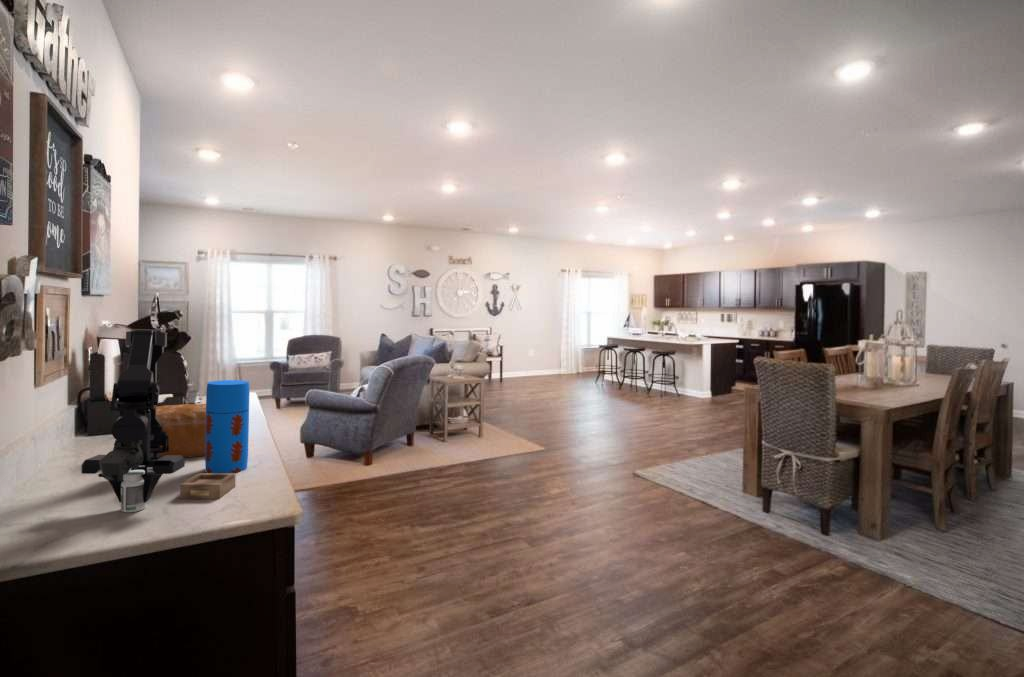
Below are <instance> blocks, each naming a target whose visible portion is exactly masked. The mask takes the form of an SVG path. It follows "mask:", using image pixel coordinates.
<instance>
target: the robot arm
mask: <svg viewBox="0 0 1024 677" xmlns="http://www.w3.org/2000/svg"><path fill="white" fill-rule="evenodd" d="M167 337H168V334H167V332H164V331H162V329H149V328H148V329H144V328H143V329H141V328H134V329H132V330H130V331H126V332H125V347H126V348H129V355H128V363H127V368H126V369H124V370H123V371H121V372H120V373H119V375H118V378H117V381H116V382H114V383H113V386H112V387H113V388H112V395H111V396H112V397H111V404H110V412H118V418H117V419H116V420H115V422H114V423H113V425H112V427H111V435H112V437H113V439H115V440H114V442H113V448H112V450H110V451H109V452H107V454H97V455H94V456H92V457H90V458H87V459H85V460H84V461H83V462H81V465H80V466H81V467H80V473H81V474H84V475H85V474H90V475H91V474H97V473H98V472H100V473H98V474H97V476H98V477H99V478H103V479H104V480H107V482H109V484H110V485H111V487H112V489H113V492H114V494H115V496H116V498H117V499H118V502H119V503H121V483H122V482H123V481H124V480H123V475H125V474H127V473H128V472H129V471H131V470H144V471H145V474H143V475H141V477H142V478H143V480H144V491H143V499H144V502H147V503H148V502H149V500H150V498H151V496H152V494H153V492H154V491H155V490H154V489H155V488H156V485H158V482H159V480H160V479H161V477H162V476H163V475H171V474H175V473H176V472H178V471H179V470H181V469H183V468H185V461H186V460H185V459H184V458H183V457H182V456H181V455H165V456H163V453H165V452H167V451H169V436H168V435H167V433H166V430H164V431H163V422H162V421H161V420H160V419H159V417H158V416H157V415H156V407H157V406H158V405H159V399H160V398H159V396H160V386H158V381H157V377H158V375H157V374H158V373H157V371H158V370H157V369H158V368H157V367H158V365H157V364H158V361H159V359H160V358H161V357H162V355H163V353H164V350H165V348H167V346H168V338H167ZM117 401H118V402H117ZM160 446H163V447H160Z"/></svg>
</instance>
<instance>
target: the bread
mask: <svg viewBox="0 0 1024 677" xmlns="http://www.w3.org/2000/svg"><path fill="white" fill-rule="evenodd" d="M156 415H157V416H158V417H159V419H160V420H161V421H162V422H163V431H164V430H166V433H167V435H168V436H169V451H167V452H165V453H163V456H165V455H181V456H182V457H183V458H185V459H186V458H196V457H205V440H206V403H200V404H198V403H197V404H196V403H189V404H187V403H185V404H184V403H183V404H174V405H173V404H171V405H169V404H166V405H160V406H156ZM160 447H163V446H160Z"/></svg>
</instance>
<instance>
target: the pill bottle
mask: <svg viewBox="0 0 1024 677" xmlns="http://www.w3.org/2000/svg"><path fill="white" fill-rule="evenodd" d="M143 474H145V471H144V470H131V469H130V470H129V472H128V473H127V474H125V475H123V480H124V481H123V482H122V483H121V502H120V511H121V512H122V513H135V512H139V511H142V510H145V509H146V508H147V505H148V504H147V503H148V501H147V502H144V499H143V491H144V480H143V478H142V477H141V475H143Z"/></svg>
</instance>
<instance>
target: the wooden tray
mask: <svg viewBox="0 0 1024 677" xmlns="http://www.w3.org/2000/svg"><path fill="white" fill-rule="evenodd" d="M236 474H237V473H207V472H198V473H196V474H194V475H193V476H192V477H189V478H187V479H186V480H185V481H183V482H182V483H180V485H179V499H180V500H218V499H219V500H220V499H221V498H223V497H224V496H225V495H226V494H228V493H229V492H231V491H232V490H233V489H235V488H236V477H237V476H236Z"/></svg>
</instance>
